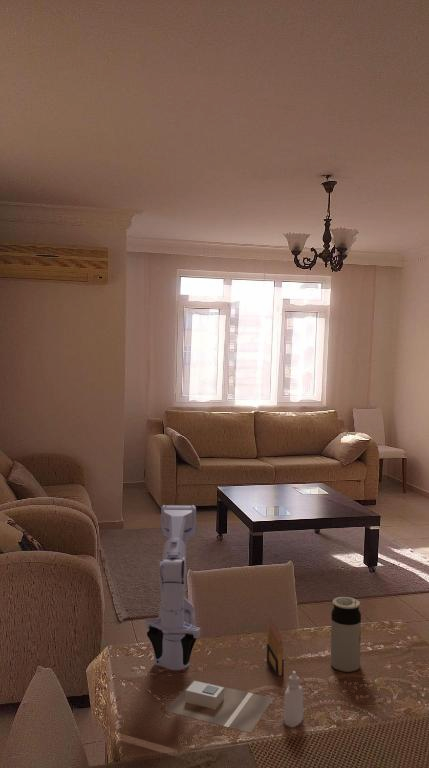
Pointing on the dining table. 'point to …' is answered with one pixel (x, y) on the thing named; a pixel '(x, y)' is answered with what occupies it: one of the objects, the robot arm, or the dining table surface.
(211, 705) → the block
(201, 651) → the dining table surface
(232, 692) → the subfloor panel
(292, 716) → the eye dropper bottle
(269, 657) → the ammunition clip
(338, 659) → the travel mug
